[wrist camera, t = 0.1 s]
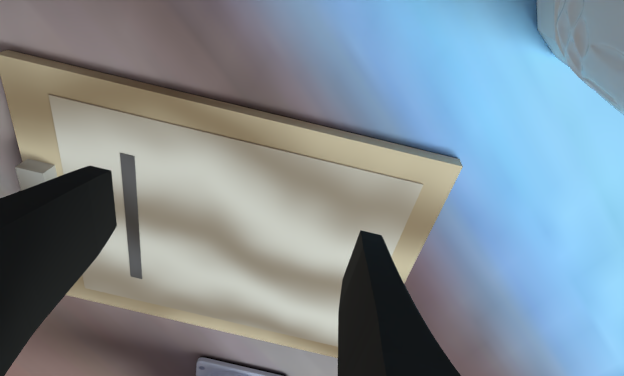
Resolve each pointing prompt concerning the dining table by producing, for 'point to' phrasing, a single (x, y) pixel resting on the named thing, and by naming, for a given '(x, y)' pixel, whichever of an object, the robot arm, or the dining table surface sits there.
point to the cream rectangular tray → (222, 200)
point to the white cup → (588, 42)
